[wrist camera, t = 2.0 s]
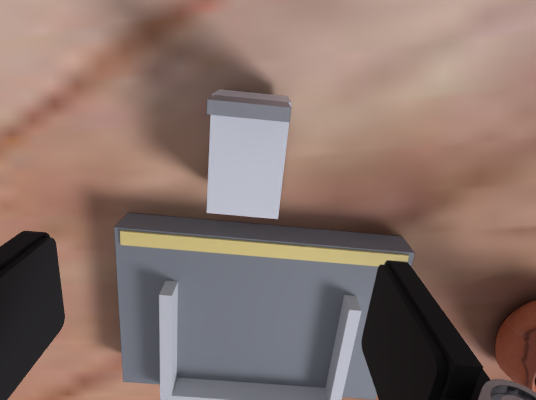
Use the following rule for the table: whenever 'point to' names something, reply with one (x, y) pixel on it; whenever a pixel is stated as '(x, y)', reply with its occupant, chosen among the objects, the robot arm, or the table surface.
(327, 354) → the dock
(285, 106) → the lidded storage box
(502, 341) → the potted flower
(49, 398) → the table surface
